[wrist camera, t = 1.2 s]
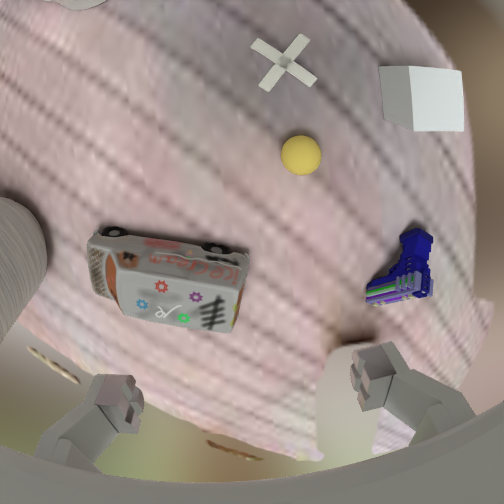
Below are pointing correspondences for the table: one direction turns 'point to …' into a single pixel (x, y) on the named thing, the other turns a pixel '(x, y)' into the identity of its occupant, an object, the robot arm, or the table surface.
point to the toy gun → (405, 272)
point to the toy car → (168, 279)
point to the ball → (301, 155)
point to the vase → (19, 261)
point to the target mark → (284, 62)
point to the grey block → (422, 98)
